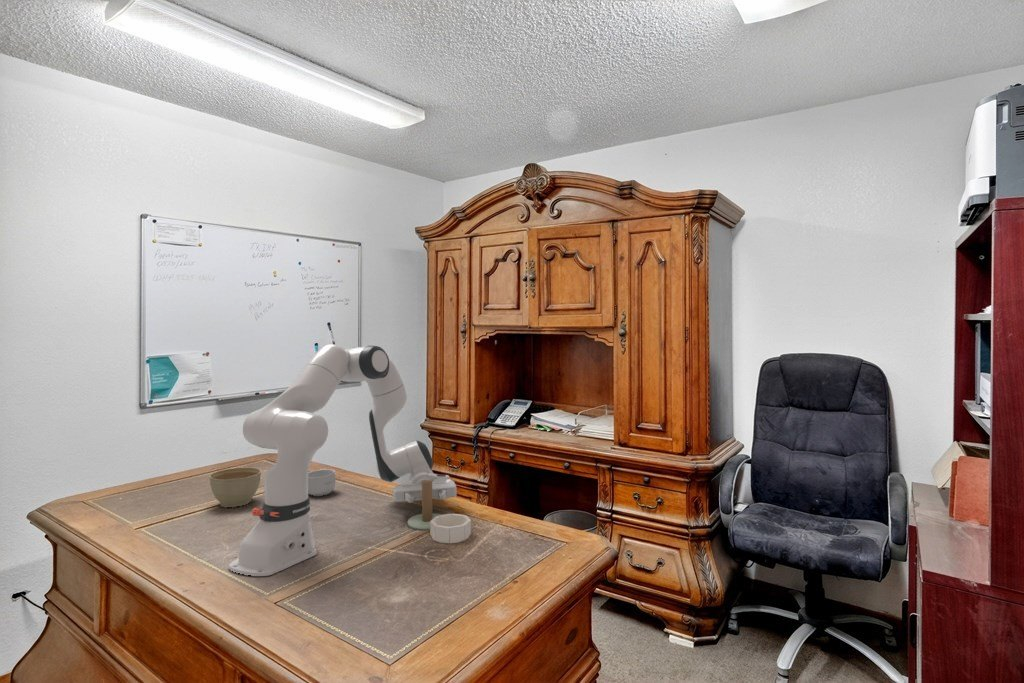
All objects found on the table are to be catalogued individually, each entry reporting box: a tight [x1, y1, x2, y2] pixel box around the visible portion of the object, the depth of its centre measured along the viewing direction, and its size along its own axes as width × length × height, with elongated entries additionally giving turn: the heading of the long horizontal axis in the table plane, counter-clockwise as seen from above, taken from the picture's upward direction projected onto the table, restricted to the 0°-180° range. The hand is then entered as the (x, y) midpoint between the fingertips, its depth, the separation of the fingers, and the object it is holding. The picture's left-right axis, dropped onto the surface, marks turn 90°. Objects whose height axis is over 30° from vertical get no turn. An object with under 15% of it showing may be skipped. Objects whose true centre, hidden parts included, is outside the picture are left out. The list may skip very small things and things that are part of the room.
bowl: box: [429, 513, 472, 544], centre depth 158 cm, size 11×11×5 cm
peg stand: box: [407, 480, 442, 531], centre depth 168 cm, size 12×12×13 cm
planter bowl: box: [208, 467, 262, 508], centre depth 189 cm, size 16×16×11 cm
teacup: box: [308, 468, 336, 497], centre depth 201 cm, size 14×11×8 cm
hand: (426, 498), depth 169 cm, fingers open, 8 cm apart
